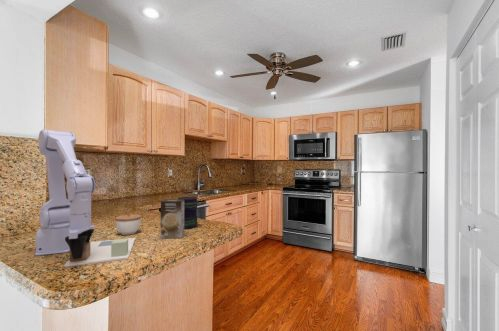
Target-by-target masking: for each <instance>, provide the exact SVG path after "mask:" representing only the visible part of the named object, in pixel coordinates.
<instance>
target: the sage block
mask: <svg viewBox="0 0 499 331" xmlns="http://www.w3.org/2000/svg"><path fill="white" fill-rule="evenodd" d="M128 238H129V237H128ZM128 238H127V237H126V238H118V239H112V240H113V242H112V243H111V257H117V256H125V255H127V253H128Z"/></svg>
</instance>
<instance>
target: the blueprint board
mask: <svg viewBox="0 0 499 331" xmlns="http://www.w3.org/2000/svg"><path fill="white" fill-rule="evenodd" d="M113 240H114V239H108V240H97V241H89V242H90V256H89V258H88V259H87V260H83V261H74V262H70V259H68V260H67V261H66V263H65V264H63V268H68V267H74V266H75V267H76V266H83V265H84V266H85V265H91V264H101V263H107V262H108V263H109V262H115V261H124V260H129V257H130V255H131V252H132V249H133V247H134V244H135V241H136V237H128V253H127V255H125V256H117V257H111V243H112V242H113Z"/></svg>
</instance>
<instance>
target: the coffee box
mask: <svg viewBox="0 0 499 331" xmlns="http://www.w3.org/2000/svg"><path fill="white" fill-rule="evenodd" d="M159 232H160V233H159V234H160V237H159V238H160V239H181V238H183V236H184V235H185V229H184V200H180V199H178V198H177V199H175V198H174V199H171V198H169V199H168V198H166V199H163V200H161V201H160V230H159Z"/></svg>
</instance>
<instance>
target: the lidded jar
mask: <svg viewBox="0 0 499 331" xmlns="http://www.w3.org/2000/svg"><path fill="white" fill-rule="evenodd" d="M114 220H115V228H116V231H118V233H120V235H121V236H129V235H133V234H136V233H137V231H138V230H140V229H139V228H140V227H141V223H142V215H140V214H132V213H130V212H127V214H124V215H123V214H122V215H118V216H116V217H115V218H114Z"/></svg>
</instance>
